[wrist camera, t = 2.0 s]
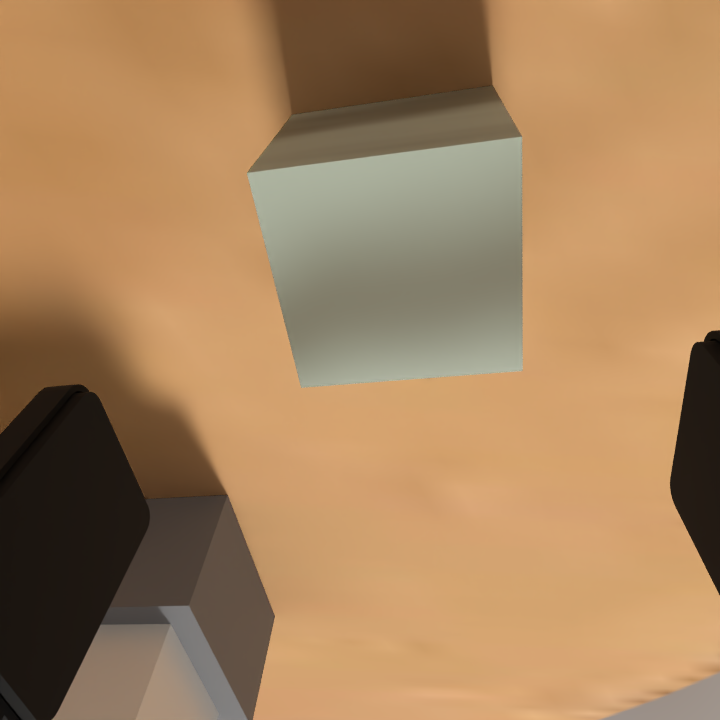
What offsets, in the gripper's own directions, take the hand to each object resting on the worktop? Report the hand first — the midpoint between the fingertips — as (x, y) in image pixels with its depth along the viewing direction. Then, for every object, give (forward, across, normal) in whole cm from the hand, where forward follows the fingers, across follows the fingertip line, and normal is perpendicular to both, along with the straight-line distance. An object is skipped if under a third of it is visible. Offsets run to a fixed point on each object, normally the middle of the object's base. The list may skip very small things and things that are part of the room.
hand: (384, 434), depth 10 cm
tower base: (+9, +12, +14) cm, 20 cm away
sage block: (+9, 0, -1) cm, 9 cm away
